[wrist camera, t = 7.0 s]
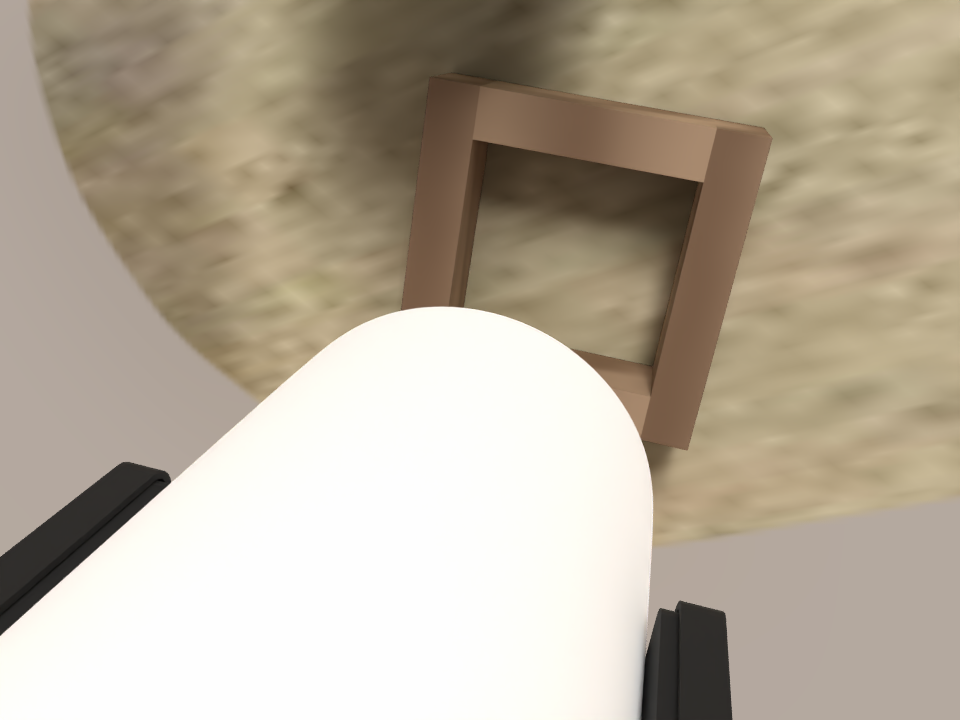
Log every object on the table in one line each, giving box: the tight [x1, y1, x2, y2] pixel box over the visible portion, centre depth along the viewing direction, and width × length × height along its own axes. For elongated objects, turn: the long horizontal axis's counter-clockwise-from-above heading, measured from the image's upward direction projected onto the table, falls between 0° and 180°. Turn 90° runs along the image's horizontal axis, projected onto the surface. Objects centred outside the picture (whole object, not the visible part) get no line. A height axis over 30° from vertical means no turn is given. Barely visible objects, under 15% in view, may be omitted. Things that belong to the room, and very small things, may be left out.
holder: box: [401, 73, 772, 450], centre depth 31 cm, size 11×11×3 cm
